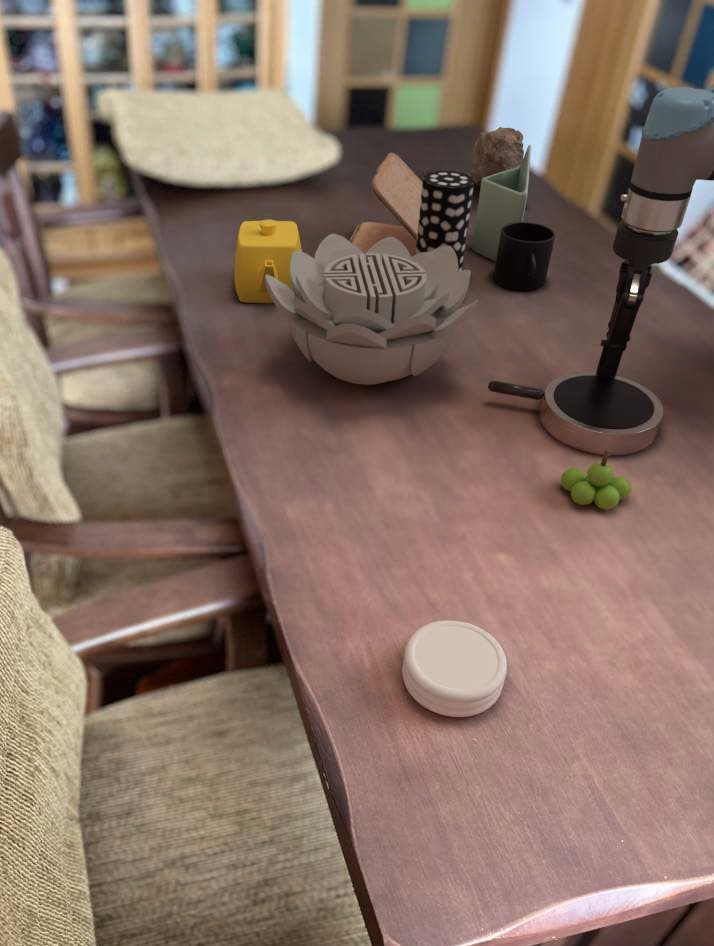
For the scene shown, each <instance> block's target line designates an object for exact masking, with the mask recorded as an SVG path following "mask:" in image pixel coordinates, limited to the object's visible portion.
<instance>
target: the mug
mask: <svg viewBox="0 0 714 946" xmlns="http://www.w3.org/2000/svg"><path fill="white" fill-rule="evenodd" d="M555 238H556V233H555V231H554V230H553V229H552V228H550V227H548V226H546V225H543V224H541V223H537V222H529V221H523V222H515V223H510V224H507V225H505V226H504V227H503V228H502V229H501V234H500V240H499V246H498V252H497V258H496V262H495V264H494V270H493V278H494V279H493V280H494V281H495V283H496V284H497V285H499V286H501V287H503V288H505V289H509V290H513V291H520V292H521V291H523V292H527V291H535V290H538V289H540V288H542V287H543V286H544V285H545V283H546V279H547V276H548V271H549V267H550V261H551V257H552V253H553V247H554V243H555Z"/></svg>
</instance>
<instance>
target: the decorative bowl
mask: <svg viewBox="0 0 714 946" xmlns="http://www.w3.org/2000/svg"><path fill="white" fill-rule="evenodd" d="M470 279H471V270H469V269H462V271H460V272H458V260H457V256H456V253H455V251H454V249H453V248H452V247H451V246H442V247H439V248H436V249H434V250H432V251H431V252H422V253H418V254H416V255H414V256H413V257H411V255H410V254H409V252H408V250H407V249H406V247H405V246H404V245H403V244H402V243H401V242H400V241H399V240H398V239H396V238H394V237H387V238H384V239H382V240H380V241H379V242H377V243H376V244H374V245H373V246H372V247H371V248H370V249H369V250H368V251H367V252H366V254H364V253H363V252H362V251H361V250H360V249H358V248H357V247H356V246H354V245H353V244H352V243H351V242H349V240H348V239H347V238H345V237H344V236H343V235H340V234H336V233H330V234H328V235H327V236H325V238H323V239H322V241H321V242H320V243H319V245H318V247H317V248H316V251H315V253H314V257H312V256H311V255H309V254H308V253H306V252H303V251H302V252H300V251H296V252H294V253H293V254H292V258H291V263H290V280H291V286H292V289H291V288H290V287H288V286H286V285H285V284H283V283H282V282H280V281H278V280H277V279H275V278H273V277H272V276H270V275H266V276H265V285H266V287H267V290H268V292H269V294H270V297H271V298H272V300H273V302H274V303H273V304H274V305H275V307H276V309H277V310H278V311H279V312H280V313H281V314H282V315H283V316H284V317H285V318H287V322H288V326H289V329H290V333H291V335H292V337H293V339H294V342H295V343H296V345H297V347H298V349H299V350H300V352H301V353H302V354H303V355H304V357H305V358H306V359H307V360H308V361H309V362H310V363H312V362H315V363H316V364H317V365H319V366H320V367H321V368H322V369H323V370H324V371H325V372H327V373H328V374H330V375H331V376H333V377H335V378H337V379H339V380H342V381H344V382H348V383H351V384H357V385H365V386H367V385H379V384H383V383H386V382H392V381H397V380H400V379H403V378H406V377H408V376H411V375H412V376H413V377H416V376H419V375H420V374H422V373H423V372H425V371H427V370H428V369H429V368H431V367H432V366H433V365H434V364H436V362H437V361H439V359H440V358H441V357H442V356H443V355H444V354H445V352H446V351H447V350H448V348H449V346H450V345H451V343H452V342H453V340H454V337H455V335H456V332H457V330H458V327H459V326H460V325H461V324H462V323H463V322H465V320H467V319H468V318H469V316H471V315H472V314H473V313H474V312H475V311H476V310H477V309H478V304H479V299H476V300H475V301H473V302H471V303H469V304H467V305H465V306H462V307H461V305H462V303H463V301H464V300H465V298H466V295H467V293H468V289H469V286H470Z"/></svg>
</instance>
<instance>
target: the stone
mask: <svg viewBox="0 0 714 946" xmlns="http://www.w3.org/2000/svg"><path fill="white" fill-rule="evenodd" d="M523 140H524V135H523V133H522V132H521V131H520V130H519V129H518V130H516V129H515V128H512V127H501V126H500V127H498V128H497V129H496V130H491V131H481V132H480V133H479V137H478V139H477V140H476V141H475V143H474V147H473V149H472V150H471V151H472V154H471V169H470V176H472V177H473V178H474V180H475V182H474V184H475V185H478V186H479V187H481V182H482V179H483V178H485V177H488V176H490V175H494V174H497V173H500V172H503V171H506V170H510V169H513V168H517V167H518V166H519V165H520V164H521V163H522V161H523V158H524V156H525V150H524V143H523ZM531 178H532V177H531V173H529V182H528V188H529V187H530V182H531Z"/></svg>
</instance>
